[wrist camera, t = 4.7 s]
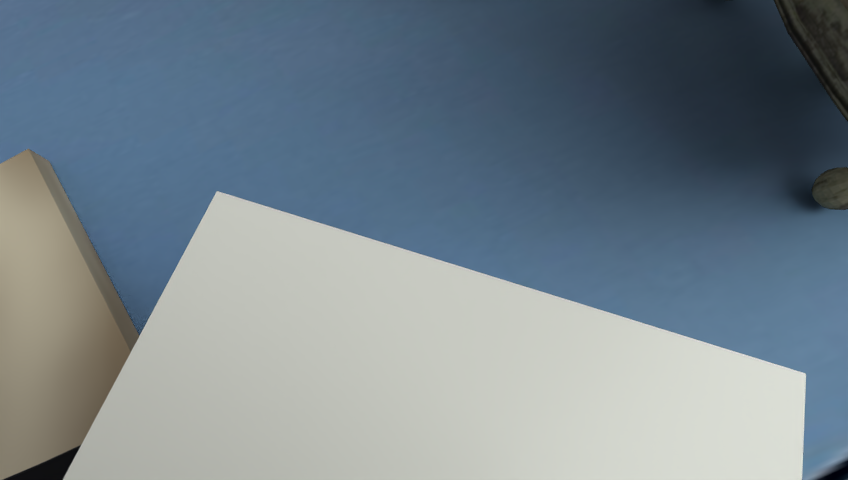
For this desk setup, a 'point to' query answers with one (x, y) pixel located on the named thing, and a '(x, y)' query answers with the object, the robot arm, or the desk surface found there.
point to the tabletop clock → (823, 71)
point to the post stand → (51, 320)
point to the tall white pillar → (417, 375)
